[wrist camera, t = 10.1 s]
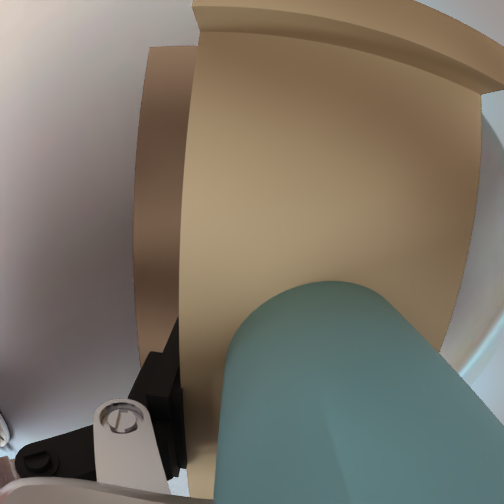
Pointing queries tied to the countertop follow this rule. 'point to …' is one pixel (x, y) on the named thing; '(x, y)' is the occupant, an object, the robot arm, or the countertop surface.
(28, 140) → the countertop surface
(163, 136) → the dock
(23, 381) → the countertop surface
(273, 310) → the teal cylinder
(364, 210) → the light wood long block
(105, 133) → the countertop surface
